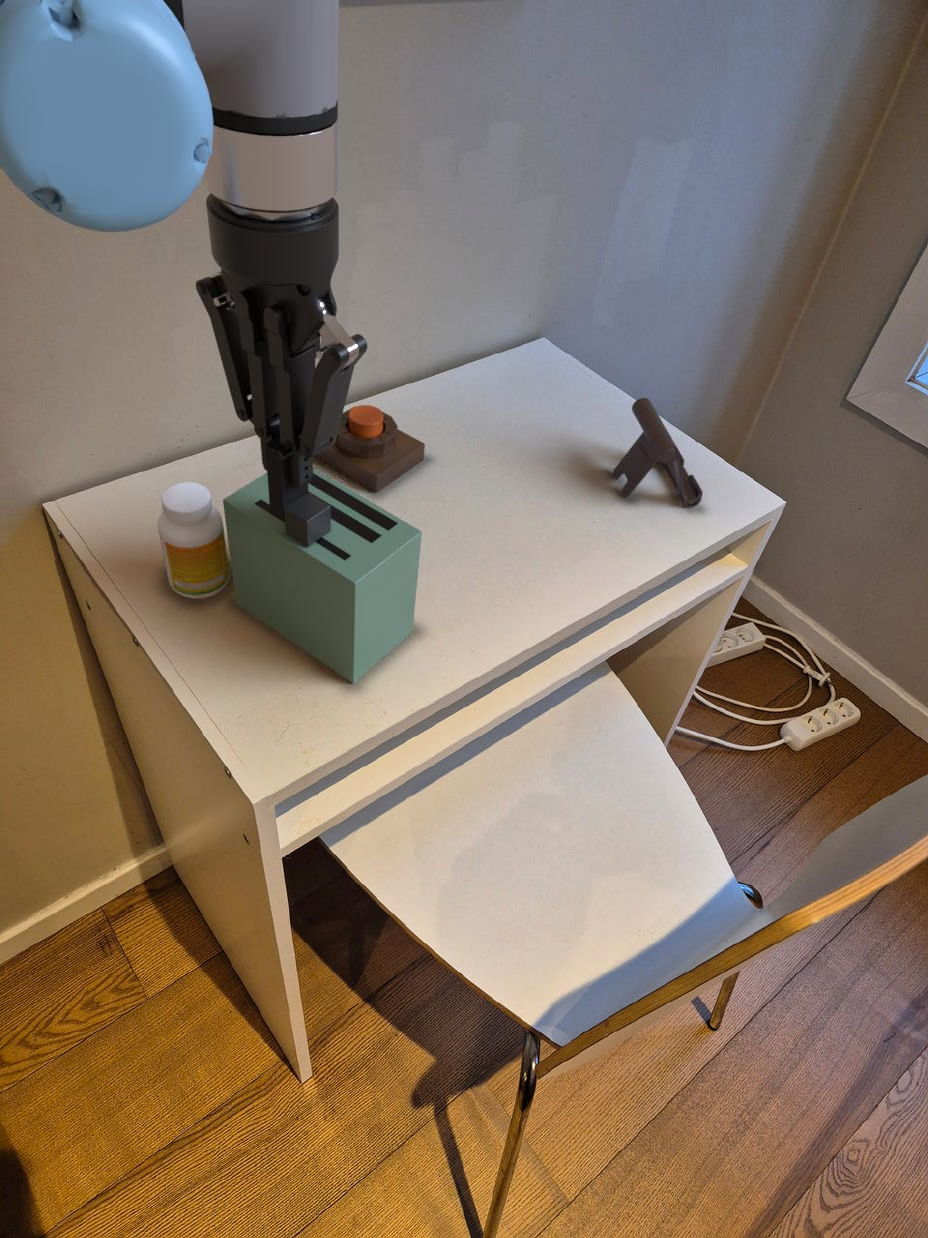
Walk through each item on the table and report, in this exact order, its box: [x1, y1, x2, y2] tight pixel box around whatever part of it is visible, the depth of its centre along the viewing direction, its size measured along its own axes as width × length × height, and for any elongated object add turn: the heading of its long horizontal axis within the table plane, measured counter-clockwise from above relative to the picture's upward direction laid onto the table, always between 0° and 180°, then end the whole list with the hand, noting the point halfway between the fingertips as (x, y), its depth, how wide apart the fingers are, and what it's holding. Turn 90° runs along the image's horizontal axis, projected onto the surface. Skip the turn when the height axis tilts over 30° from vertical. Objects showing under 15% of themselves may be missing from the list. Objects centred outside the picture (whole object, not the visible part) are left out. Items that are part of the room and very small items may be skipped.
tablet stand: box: [612, 397, 704, 509], centre depth 93 cm, size 9×8×8 cm
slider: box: [284, 492, 331, 547], centre depth 66 cm, size 2×3×3 cm
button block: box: [313, 405, 426, 494], centre depth 92 cm, size 10×8×4 cm
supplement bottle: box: [157, 481, 231, 600], centre depth 75 cm, size 5×5×10 cm
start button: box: [349, 404, 383, 438], centre depth 90 cm, size 4×4×2 cm
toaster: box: [222, 467, 423, 685], centre depth 73 cm, size 14×8×12 cm, turn 53°
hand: (289, 509), depth 67 cm, fingers closed
